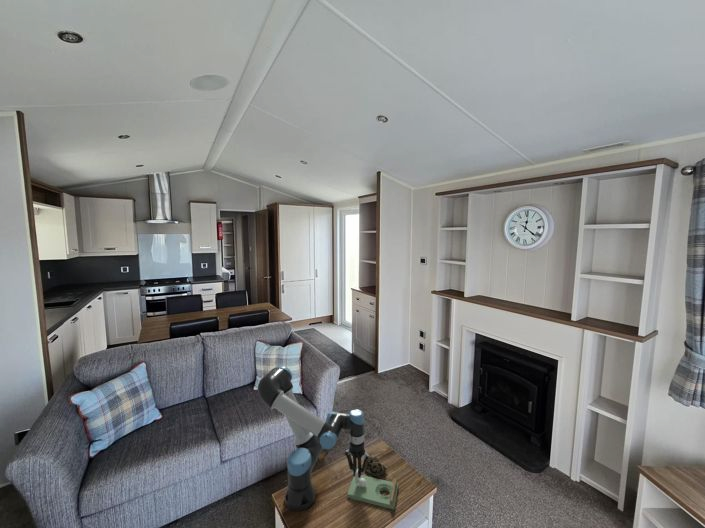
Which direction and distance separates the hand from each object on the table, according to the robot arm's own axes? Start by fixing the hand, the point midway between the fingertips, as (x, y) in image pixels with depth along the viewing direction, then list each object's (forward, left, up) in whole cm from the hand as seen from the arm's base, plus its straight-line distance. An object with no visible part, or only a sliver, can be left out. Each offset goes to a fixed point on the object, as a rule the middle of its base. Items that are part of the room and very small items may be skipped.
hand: (357, 481), depth 165 cm
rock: (+6, +15, -4) cm, 17 cm away
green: (+9, 0, -4) cm, 9 cm away
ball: (+3, 0, 0) cm, 3 cm away
